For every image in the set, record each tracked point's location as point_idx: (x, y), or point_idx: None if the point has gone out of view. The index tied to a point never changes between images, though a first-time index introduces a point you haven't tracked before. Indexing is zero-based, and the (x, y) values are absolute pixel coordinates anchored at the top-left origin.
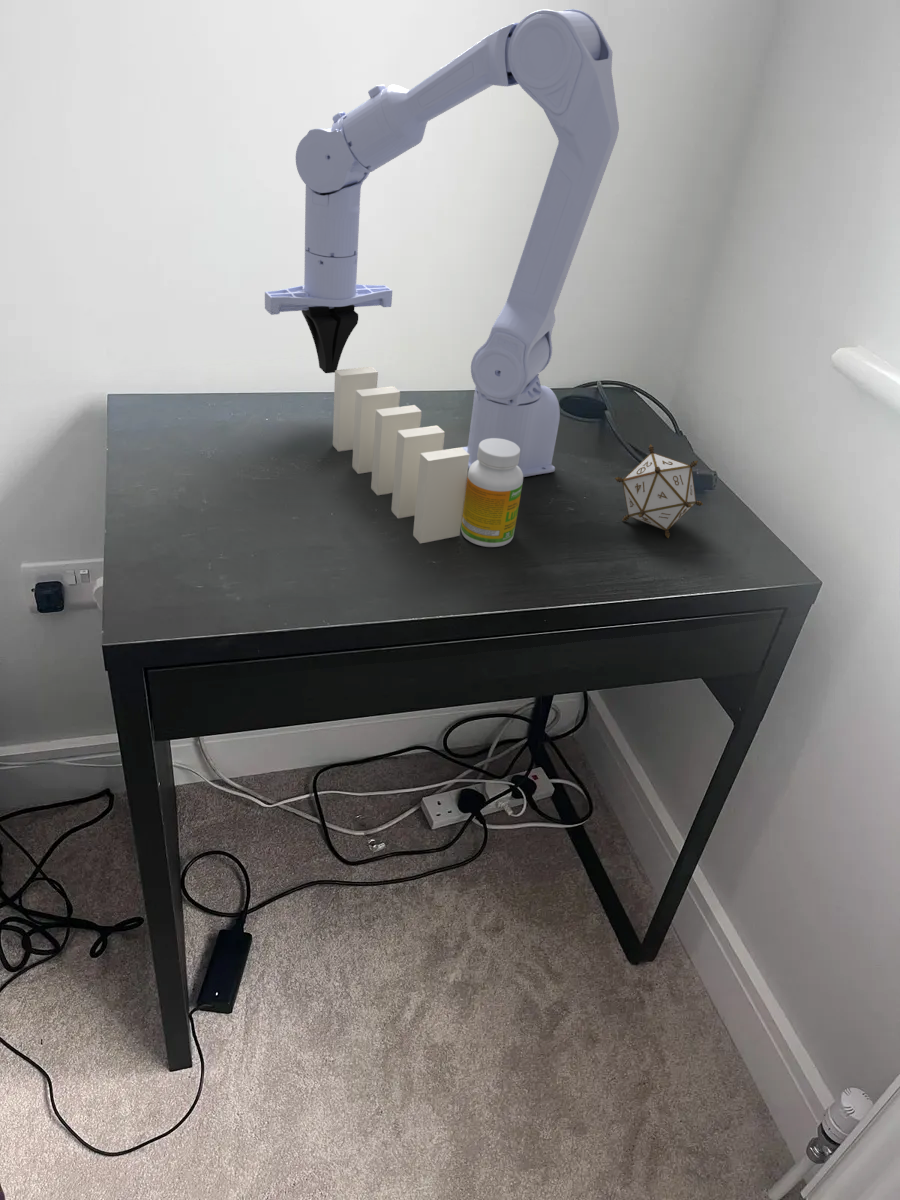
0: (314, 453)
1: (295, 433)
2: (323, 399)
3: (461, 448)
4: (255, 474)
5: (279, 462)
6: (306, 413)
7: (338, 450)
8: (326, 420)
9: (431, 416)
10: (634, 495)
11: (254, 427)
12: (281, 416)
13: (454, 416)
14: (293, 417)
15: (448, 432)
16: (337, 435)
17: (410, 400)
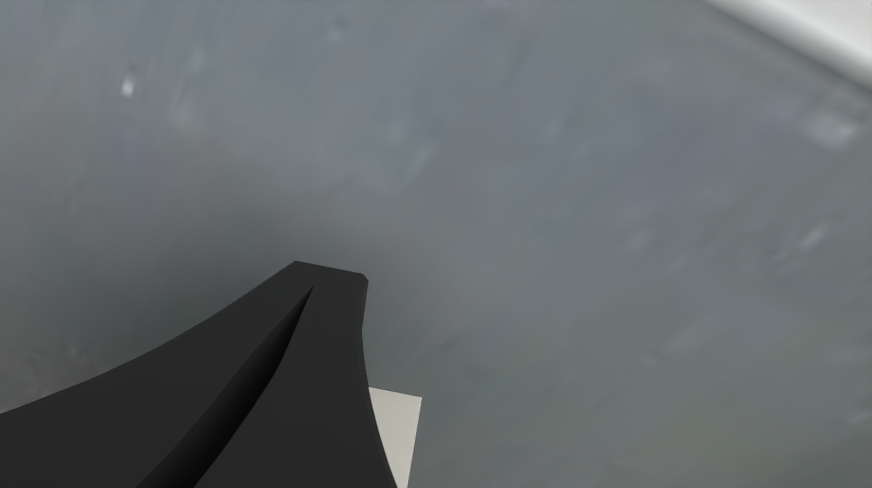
0: None
1: (202, 247)
2: (480, 2)
3: None
4: (5, 397)
5: (88, 377)
6: (319, 112)
7: None
8: (368, 209)
9: (786, 367)
10: None
11: (58, 132)
12: (198, 88)
13: (866, 405)
14: (246, 122)
15: (720, 472)
16: None
17: (862, 213)
